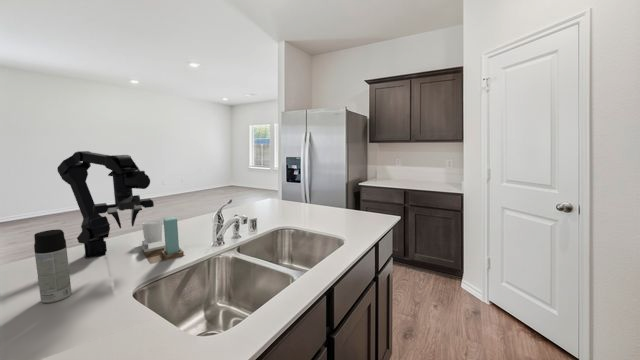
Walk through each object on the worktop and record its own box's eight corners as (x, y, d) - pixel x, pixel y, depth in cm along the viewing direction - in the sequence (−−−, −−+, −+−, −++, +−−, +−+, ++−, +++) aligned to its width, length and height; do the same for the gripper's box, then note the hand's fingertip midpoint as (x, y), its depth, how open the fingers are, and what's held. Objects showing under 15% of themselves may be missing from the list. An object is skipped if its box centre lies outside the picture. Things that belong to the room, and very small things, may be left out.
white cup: (148, 247, 122) (146, 225, 120) (140, 243, 126) (139, 222, 125) (166, 242, 128) (165, 221, 127) (159, 238, 133) (157, 218, 131)
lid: (144, 252, 109) (144, 245, 109) (141, 247, 115) (141, 240, 114) (165, 247, 114) (164, 241, 114) (161, 243, 119) (160, 236, 119)
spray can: (69, 289, 86) (62, 227, 84) (74, 296, 82) (66, 231, 79) (39, 298, 81) (30, 232, 79) (42, 306, 77) (33, 237, 74)
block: (168, 257, 108) (165, 220, 106) (166, 254, 111) (163, 218, 109) (179, 255, 111) (177, 218, 109) (176, 252, 114) (174, 216, 112)
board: (150, 266, 102) (149, 260, 102) (142, 252, 116) (141, 246, 115) (185, 258, 110) (184, 252, 110) (173, 245, 124) (173, 240, 123)
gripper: (92, 193, 93) (96, 237, 95) (155, 187, 106) (158, 227, 108) (91, 189, 102) (95, 230, 104) (149, 184, 114) (152, 221, 116)
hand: (126, 227), depth 108 cm, fingers open, 4 cm apart
